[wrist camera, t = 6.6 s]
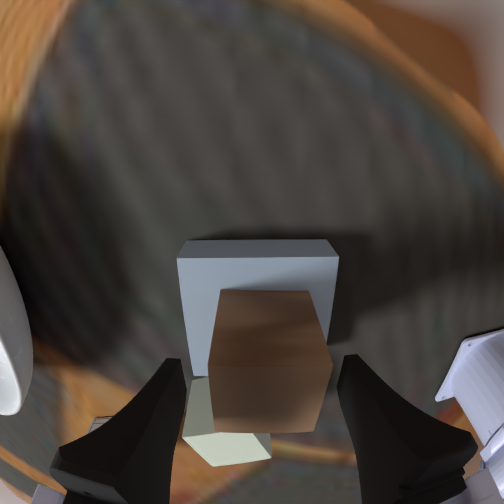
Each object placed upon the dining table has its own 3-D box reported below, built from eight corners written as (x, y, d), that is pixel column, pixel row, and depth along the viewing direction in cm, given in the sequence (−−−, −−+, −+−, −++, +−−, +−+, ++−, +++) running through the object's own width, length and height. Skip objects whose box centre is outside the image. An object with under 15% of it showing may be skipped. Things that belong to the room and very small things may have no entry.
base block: (324, 237, 17) (338, 256, 14) (312, 344, 20) (320, 373, 17) (187, 238, 17) (176, 258, 14) (199, 346, 20) (193, 375, 17)
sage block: (247, 366, 20) (248, 427, 15) (267, 402, 22) (271, 457, 17) (192, 380, 21) (181, 437, 16) (216, 413, 22) (212, 466, 17)
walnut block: (308, 290, 15) (333, 365, 10) (299, 356, 17) (313, 431, 12) (220, 289, 15) (207, 365, 10) (222, 355, 17) (214, 432, 12)
